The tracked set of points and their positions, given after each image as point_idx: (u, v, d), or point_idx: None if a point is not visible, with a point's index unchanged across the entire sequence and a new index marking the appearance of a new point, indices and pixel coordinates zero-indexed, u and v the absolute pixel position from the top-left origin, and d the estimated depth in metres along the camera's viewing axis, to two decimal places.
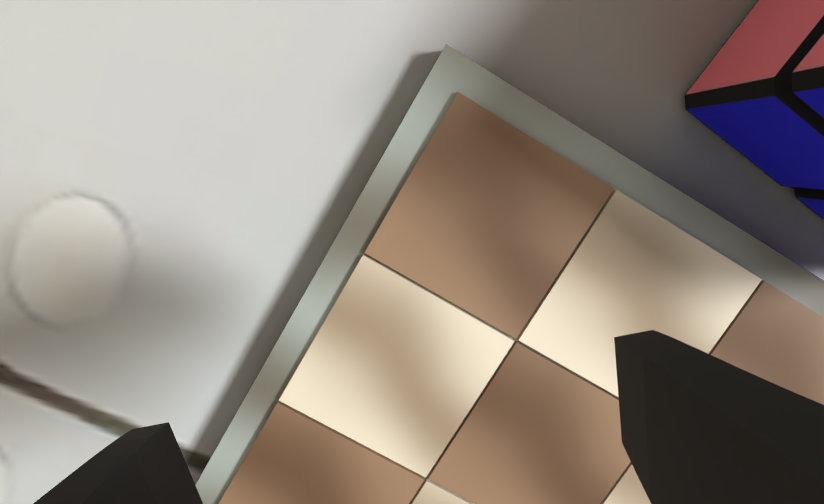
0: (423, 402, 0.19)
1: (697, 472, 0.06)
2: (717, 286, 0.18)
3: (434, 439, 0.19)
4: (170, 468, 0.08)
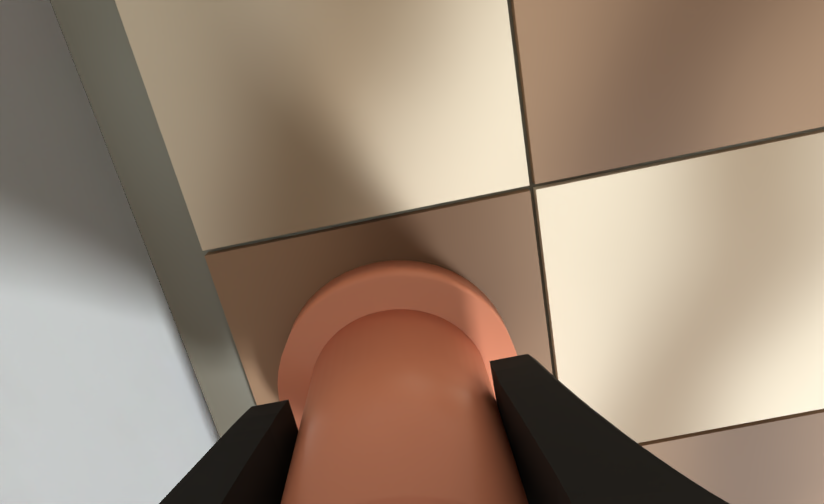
0: None
1: (537, 501, 0.06)
2: None
3: None
4: (293, 445, 0.08)
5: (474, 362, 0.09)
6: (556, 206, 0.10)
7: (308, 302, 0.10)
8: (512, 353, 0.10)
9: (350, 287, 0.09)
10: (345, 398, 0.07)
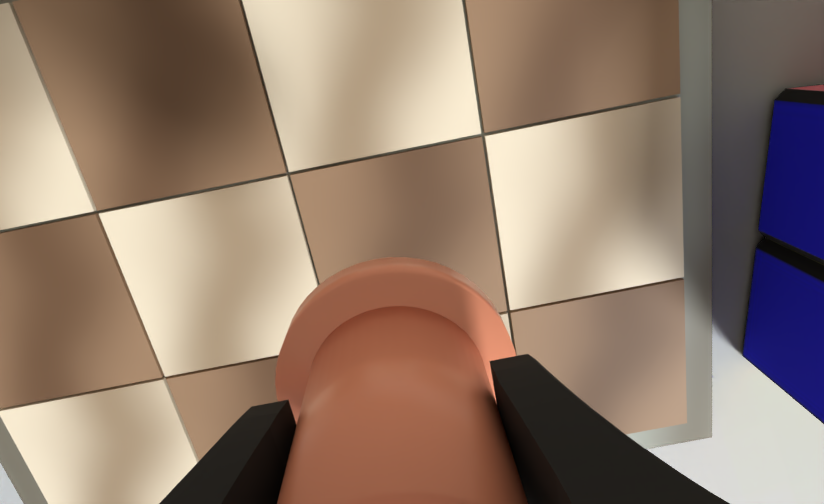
0: (356, 104, 0.16)
1: (537, 501, 0.06)
2: (654, 250, 0.18)
3: (331, 146, 0.16)
4: None
5: (472, 359, 0.09)
6: (113, 223, 0.16)
7: (306, 299, 0.10)
8: (510, 350, 0.10)
9: (348, 283, 0.09)
10: (342, 395, 0.07)
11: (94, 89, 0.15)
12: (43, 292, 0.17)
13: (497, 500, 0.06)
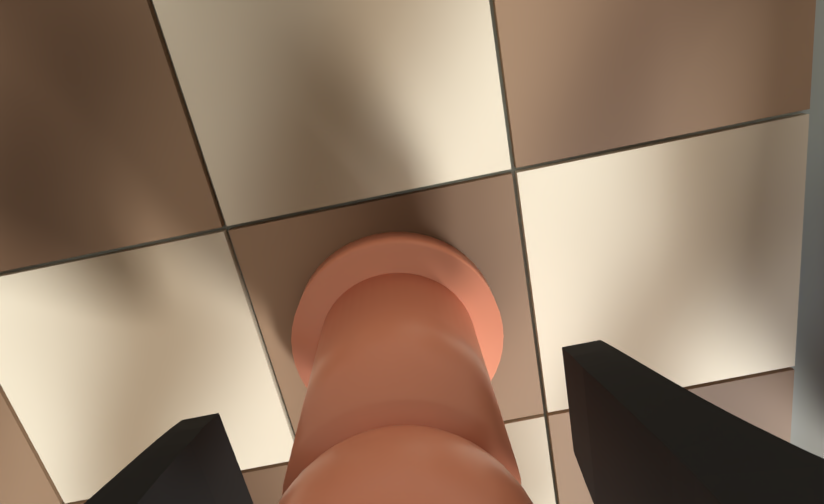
0: (324, 127, 0.10)
1: (630, 484, 0.06)
2: (756, 331, 0.12)
3: (288, 188, 0.11)
4: (222, 459, 0.08)
5: (462, 316, 0.10)
6: None
7: (318, 268, 0.11)
8: (496, 312, 0.11)
9: (355, 252, 0.10)
10: (351, 339, 0.08)
11: None
12: None
13: (475, 410, 0.07)
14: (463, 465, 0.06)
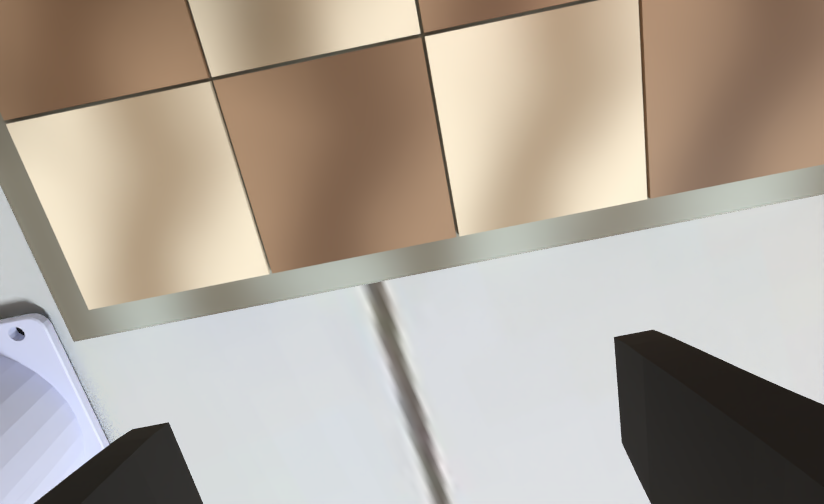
0: None
1: (697, 472, 0.06)
2: None
3: None
4: (170, 468, 0.08)
5: None
6: None
7: None
8: None
9: None
10: None
11: None
12: None
13: None
14: None
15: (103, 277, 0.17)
